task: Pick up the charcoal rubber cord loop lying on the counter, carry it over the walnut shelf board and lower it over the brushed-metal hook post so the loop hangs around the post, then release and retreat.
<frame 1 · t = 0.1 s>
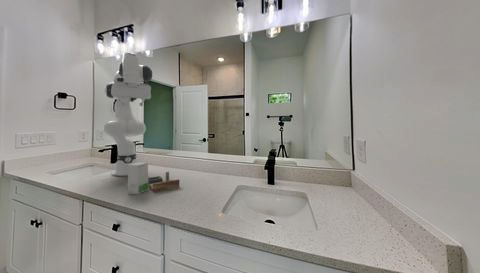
hand: (132, 105, 106), 48 cm above the worktop, fingers open, 8 cm apart
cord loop: (154, 183, 111), on the worktop
hook shelf: (164, 186, 105), on the worktop
skincare box: (138, 191, 97), on the worktop
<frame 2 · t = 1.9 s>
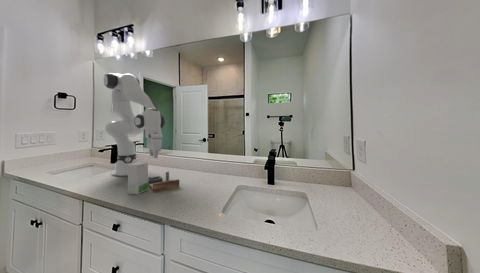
hand: (153, 157, 110), 17 cm above the worktop, fingers open, 8 cm apart
nothing on the worktop moved.
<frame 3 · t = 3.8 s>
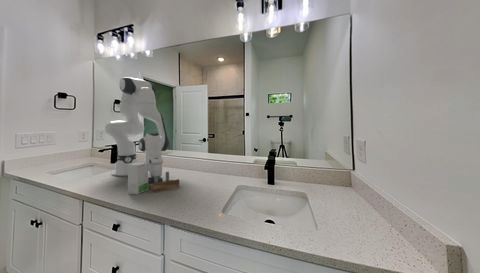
hand: (154, 180, 111), 2 cm above the worktop, fingers closed on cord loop, 6 cm apart
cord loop: (154, 183, 111), on the worktop, touching gripper
everything else where it was.
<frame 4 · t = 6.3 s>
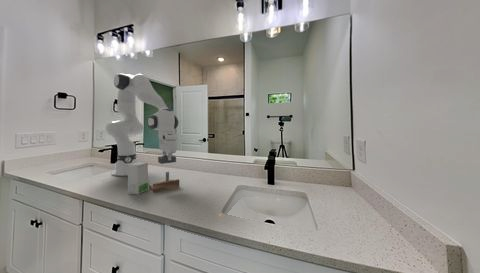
hand: (167, 159, 105), 16 cm above the worktop, fingers closed on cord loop, 6 cm apart
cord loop: (167, 162, 105), point 15 cm above the worktop, touching gripper
everything else where it was.
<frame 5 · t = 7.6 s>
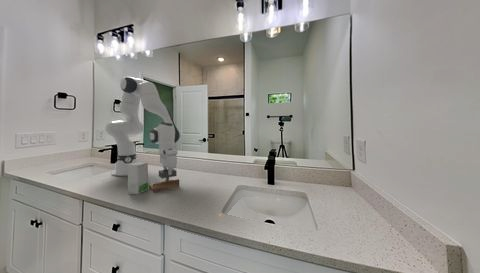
hand: (167, 173, 106), 8 cm above the worktop, fingers closed on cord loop, 6 cm apart
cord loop: (167, 176, 106), point 6 cm above the worktop, touching gripper
everything else where it was.
when the fingers open (5 cm above the worktop, at t = 8.8 s): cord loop drops 1 cm, resting on hook shelf.
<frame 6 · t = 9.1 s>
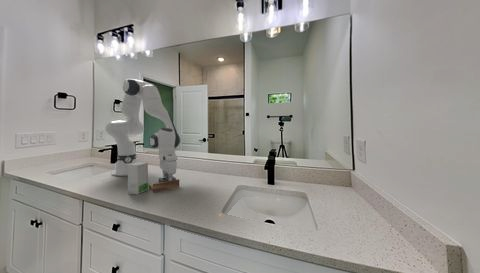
hand: (167, 178, 106), 5 cm above the worktop, fingers open, 8 cm apart
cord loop: (167, 183, 106), point 1 cm above the worktop, touching hook shelf
everything else where it was.
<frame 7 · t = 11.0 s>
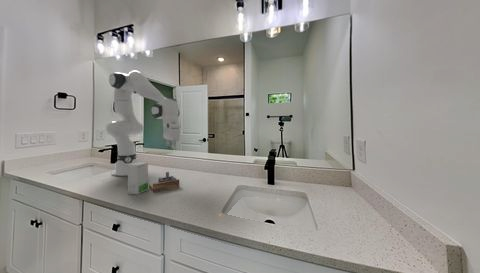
hand: (170, 147, 109), 23 cm above the worktop, fingers open, 8 cm apart
nothing on the worktop moved.
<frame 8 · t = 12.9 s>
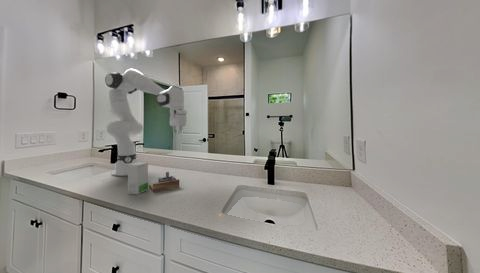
hand: (177, 133, 116), 31 cm above the worktop, fingers open, 8 cm apart
nothing on the worktop moved.
at the end: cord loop 0.1 cm from the target spot on the hook shelf, point 1.5 cm above the hook shelf's base; the gripper is holding nothing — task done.
